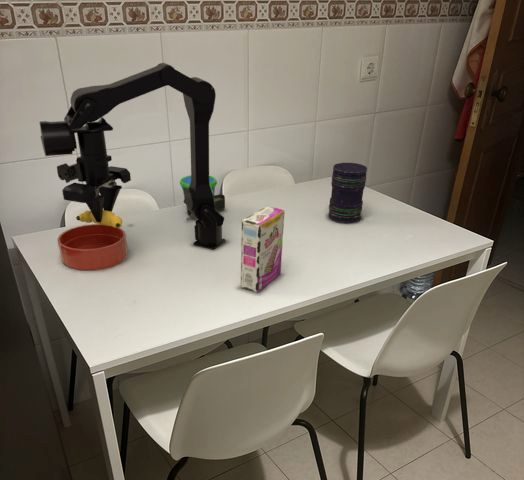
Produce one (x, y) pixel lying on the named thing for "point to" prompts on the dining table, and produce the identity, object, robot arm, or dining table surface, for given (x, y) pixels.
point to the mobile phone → (219, 205)
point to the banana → (107, 218)
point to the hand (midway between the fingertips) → (103, 219)
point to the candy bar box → (261, 248)
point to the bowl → (93, 247)
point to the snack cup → (187, 180)
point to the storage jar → (347, 192)
